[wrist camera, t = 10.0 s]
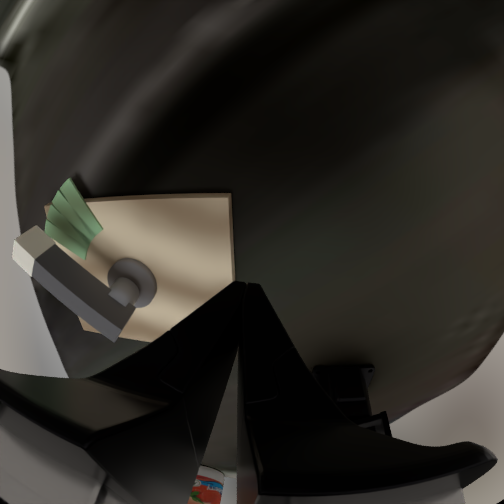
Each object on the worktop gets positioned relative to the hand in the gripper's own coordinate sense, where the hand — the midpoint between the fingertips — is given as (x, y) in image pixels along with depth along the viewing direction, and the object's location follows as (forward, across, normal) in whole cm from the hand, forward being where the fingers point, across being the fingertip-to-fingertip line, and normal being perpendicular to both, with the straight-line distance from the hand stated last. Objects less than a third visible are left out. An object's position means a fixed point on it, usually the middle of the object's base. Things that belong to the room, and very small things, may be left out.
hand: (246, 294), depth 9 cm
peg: (+9, +14, +6) cm, 18 cm away
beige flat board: (+12, +11, +7) cm, 17 cm away
